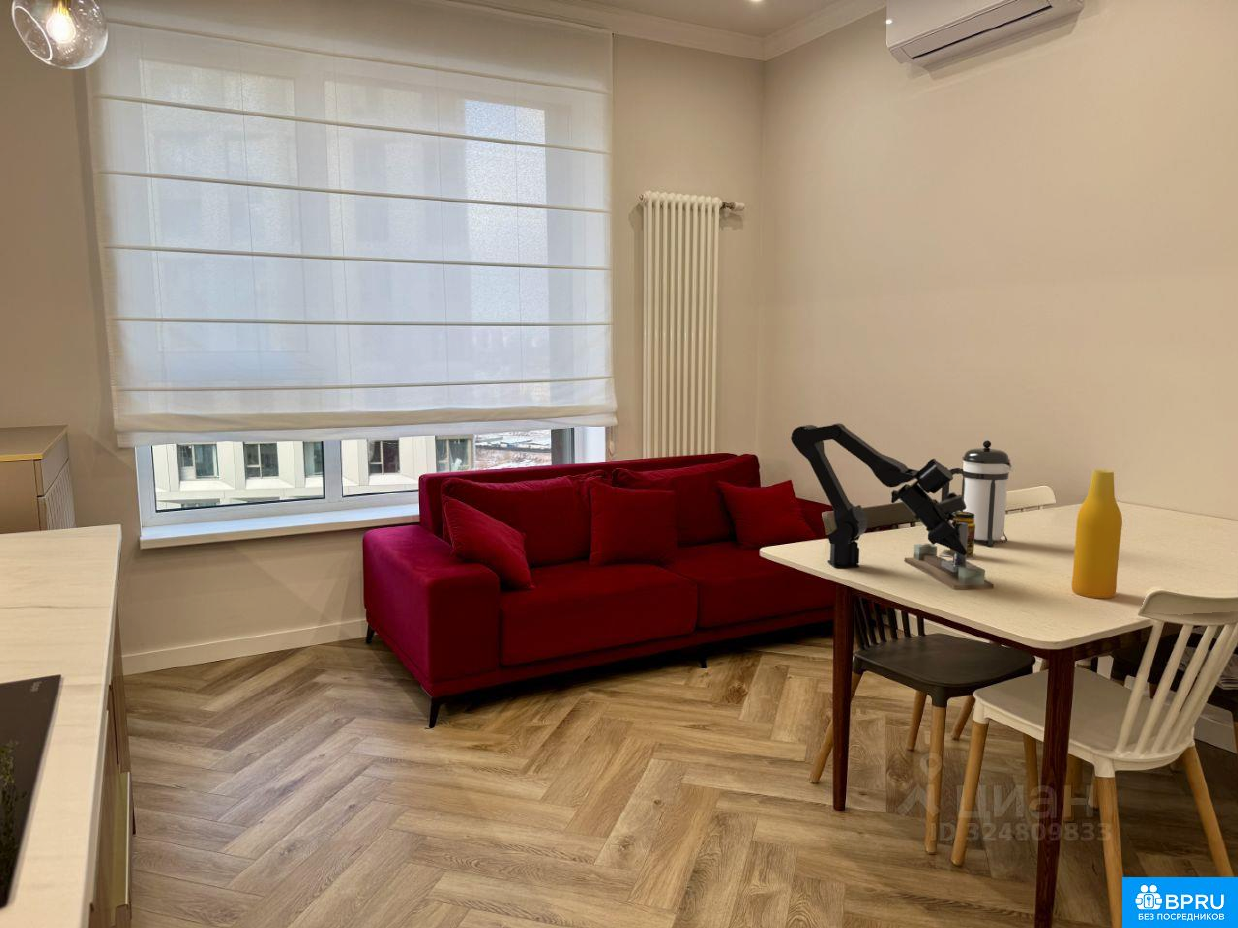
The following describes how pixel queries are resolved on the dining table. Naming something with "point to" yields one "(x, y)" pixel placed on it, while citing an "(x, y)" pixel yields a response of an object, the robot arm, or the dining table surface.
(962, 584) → the board
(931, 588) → the dining table surface
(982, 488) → the coffee press
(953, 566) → the carriage
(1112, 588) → the beer bottle
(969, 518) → the condiment
